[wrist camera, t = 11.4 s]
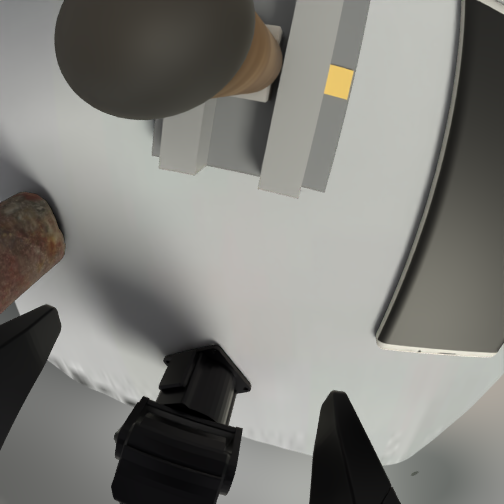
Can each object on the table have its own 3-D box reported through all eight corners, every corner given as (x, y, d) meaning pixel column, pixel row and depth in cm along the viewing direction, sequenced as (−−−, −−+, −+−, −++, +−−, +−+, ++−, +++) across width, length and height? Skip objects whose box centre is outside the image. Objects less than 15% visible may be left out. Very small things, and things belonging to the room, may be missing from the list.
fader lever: (282, 102, 15) (200, 153, 4) (213, 90, 15) (8, 132, 4) (296, 37, 13) (254, -102, 2) (225, 27, 13) (38, -60, 2)
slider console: (322, 182, 19) (326, 205, 15) (165, 148, 19) (135, 164, 16) (376, -65, 10) (389, -93, 6) (212, -87, 10) (191, -114, 7)
